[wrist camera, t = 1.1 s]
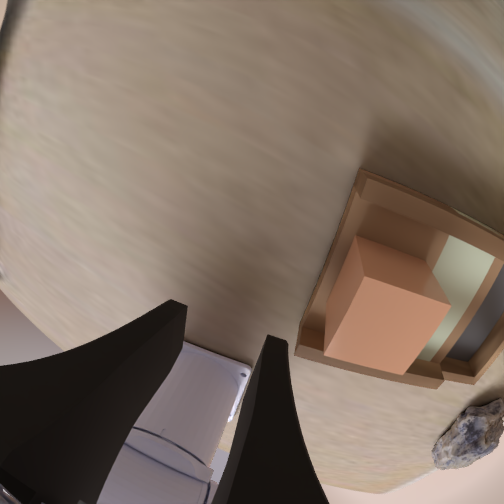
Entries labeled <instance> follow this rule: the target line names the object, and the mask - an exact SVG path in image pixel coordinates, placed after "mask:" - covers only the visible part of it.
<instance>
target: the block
mask: <svg viewBox="0 0 504 504" xmlns="http://www.w3.org/2000/svg"><path fill="white" fill-rule="evenodd" d="M450 308H451V304H450V302H449V300H448V298H447V297H446V295H445V293H444V291H443V289H442V288H441V286H440V284H439V283H438V281H437V279H436V277H435V276H434V274H433V272H432V271H431V269H430V268H429V266H428V264H427V263H426V261H424V260H422V259H419V258H417V257H414V256H411V255H409V254H406V253H403V252H401V251H398V250H395V249H393V248H390V247H387V246H385V245H382V244H379V243H376V242H374V241H371V240H368V239H365V238H362V237H360V236H357V235H355V237H354V239H353V242H352V244H351V247H350V249H349V252H348V254H347V257H346V259H345V261H344V264H343V266H342V269H341V271H340V273H339V276H338V278H337V280H336V282H335V285H334V287H333V289H332V291H331V294H330V296H329V298H328V300H327V302H326V322H325V339H324V353H323V355H324V356H328V357H332V358H335V359H339V360H342V361H346V362H350V363H354V364H358V365H362V366H366V367H370V368H374V369H378V370H382V371H386V372H390V373H395V374H399V375H403V374H404V373H405V372H406V370H407V369H408V368H409V367H410V365H411V364H412V363H413V361H414V360H415V359H416V358H417V356H418V355H419V354H420V352H421V351H422V349H423V348H424V347H425V345H426V344H427V342H428V341H429V340H430V338H431V337H432V335H433V334H434V332H435V331H436V329H437V328H438V326H439V325H440V323H441V322H442V320H443V319H444V317H445V316H446V314H447V313H448V311H449V309H450Z"/></svg>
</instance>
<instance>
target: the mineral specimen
mask: <svg viewBox="0 0 504 504" xmlns="http://www.w3.org/2000/svg"><path fill="white" fill-rule="evenodd" d="M503 417H504V402H503V401H502V399H501V398H500V399H498V400H496V401H493V402H491V403H489V404H488V405H486V406H482V407H475V406H470V407H468V408H467V410H466V412H465V413H461V414H459V416H458V418H457V420H456V421H455V423H454V424H453V425H452V427H451V429H450V430H449V431H448V432H446V434H445V435H444V436H442V437H441V438H440V439H439V440H438V442H437V443H436V445H434V448H433V450H432V457H433V460H434V463H435V465H436V467H437V468H439V469H441V470H444V469H458V468H462V467H467V466H469V465H470V464H472V463H473V462H474V461H476V460H478V459H480V458H482V457H484V456H485V455H488V454H490V453H491V452H492V451H493V450H494V449H495V448H496V447H497V446H498V443H499V438H500V437H501V435H502V433H503V431H504V426H503V422H504V421H503V420H502V418H503Z"/></svg>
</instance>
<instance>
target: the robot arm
mask: <svg viewBox="0 0 504 504" xmlns="http://www.w3.org/2000/svg"><path fill="white" fill-rule="evenodd" d="M187 307H188V306H187V305H184V304H182V303H179V302H177V301H174V300H172V299H170V300H168V301H166V302H165V303H163V304H161V305H160V306H158V307H156V308H154V309H153V310H151V311H149V312H148V313H146V314H144V315H142V316H141V317H139V318H137V319H135V320H133V321H132V322H130V323H128V324H126V325H124V326H122V327H120V328H119V329H117V330H115V331H113V332H110V333H108V334H106V335H104V336H102V337H100V338H98V339H96V340H93V341H91V342H89V343H86V344H84V345H81V346H79V347H76V348H74V349H71V350H68V351H65V352H62V353H59V354H55V355H52V356H49V357H45V358H41V359H37V360H33V361H29V362H23V363H17V364H11V365H4V366H0V504H329V502H328V500H327V498H326V495H325V493H324V491H323V489H322V487H321V484H320V482H319V480H318V478H317V476H316V473H315V470H314V468H313V465H312V462H311V460H310V457H309V454H308V451H307V448H306V445H305V442H304V439H303V435H302V432H301V428H300V424H299V420H298V416H297V411H296V407H295V402H294V396H293V390H292V385H291V378H290V369H289V358H288V343H287V341H286V340H283V339H280V338H277V337H274V336H271V335H267V337H266V340H265V343H264V345H263V348H262V350H261V353H260V356H259V358H258V361H257V363H256V366H255V368H254V371H253V373H252V376H251V379H250V382H249V385H248V388H247V390H246V393H245V396H244V399H243V403H242V407H241V411H240V415H239V419H238V423H237V427H236V431H235V435H234V439H233V443H232V446H231V450H230V454H229V458H228V461H227V464H226V467H225V470H224V472H223V475H222V478H221V480H220V482H219V485H218V484H217V482H215V481H213V480H210V479H211V476H212V474H213V471H214V470H213V469H211V468H209V467H210V464H211V462H212V459H213V457H214V454H215V452H216V449H217V447H218V444H219V442H220V439H221V437H222V434H223V431H224V429H225V426H226V424H227V421H232V419H233V416H234V414H235V411H236V409H237V406H238V404H239V402H240V399H241V397H242V394H243V392H244V389H245V387H246V384H247V381H248V379H249V376H250V374H251V371H252V368H251V367H250V366H249V365H246V364H244V363H241V362H238V361H235V360H232V359H229V358H226V357H224V356H221V355H218V354H216V353H213V352H210V351H208V350H205V349H202V348H200V347H197V346H195V345H192V344H190V343H187V342H185V341H184V332H185V323H186V315H187ZM244 373H245V374H244ZM3 489H4V490H5V491H6V492H7V493H8V494H9V495H10V496H9V495H8V494H6V493H5V492H3ZM12 497H13V498H12Z"/></svg>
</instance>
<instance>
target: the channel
mask: <svg viewBox="0 0 504 504" xmlns="http://www.w3.org/2000/svg"><path fill="white" fill-rule="evenodd" d="M355 235H357V236H360V237H362V238H365V239H368V240H371V241H374V242H376V243H379V244H382V245H385V246H387V247H390V248H393V249H395V250H398V251H401V252H403V253H406V254H409V255H411V256H414V257H417V258H419V259H422V260H424V261H426V263H427V264H428V266H429V268H430V269H431V271H432V272H433V274H434V276H435V277H436V279H437V281H438V283H439V284H440V286H441V288H442V289H443V291H444V293H445V295H446V297H447V298H448V300H449V302H450V304H451V308H450V309H449V311H448V313H447V314H446V316H445V317H444V319H443V320H442V322H441V323H440V325H439V326H438V328H437V329H436V331H435V332H434V334H433V335H432V337H431V338H430V340H429V341H428V342H427V344H426V345H425V347H424V348H423V349H422V351H421V352H420V354H419V355H418V356H417V358H416V359H415V360H414V361H413V363H412V364H411V365H410V367H409V368H408V369H407V370H406V372H405V373H404V374H403V375H399V374H395V373H390V372H386V371H382V370H378V369H374V368H370V367H366V366H362V365H358V364H354V363H350V362H346V361H342V360H339V359H335V358H332V357H328V356H324V355H323V353H324V339H325V322H326V302H327V300H328V298H329V296H330V294H331V291H332V289H333V287H334V285H335V282H336V280H337V278H338V276H339V273H340V271H341V269H342V266H343V264H344V261H345V259H346V257H347V254H348V252H349V249H350V247H351V244H352V242H353V239H354V237H355ZM503 349H504V235H502V234H501V233H499V232H497V231H496V230H494V229H492V228H490V227H488V226H487V225H485V224H483V223H481V222H479V221H477V220H476V219H474V218H472V217H470V216H468V215H466V214H464V213H462V212H460V211H458V210H456V209H454V208H452V207H450V206H448V205H446V204H444V203H442V202H439V201H437V200H435V199H433V198H431V197H429V196H426V195H424V194H422V193H420V192H417V191H415V190H413V189H411V188H408V187H406V186H404V185H401V184H399V183H396V182H394V181H391V180H389V179H386V178H384V177H381V176H379V175H376V174H373V173H371V172H368V171H366V170H363V169H360V168H359V170H358V174H357V177H356V180H355V183H354V186H353V189H352V192H351V194H350V197H349V200H348V203H347V206H346V209H345V212H344V214H343V217H342V220H341V223H340V225H339V228H338V231H337V234H336V236H335V239H334V242H333V244H332V247H331V249H330V252H329V255H328V257H327V260H326V262H325V265H324V267H323V270H322V272H321V275H320V277H319V280H318V282H317V285H316V287H315V289H314V292H313V294H312V297H311V299H310V301H309V304H308V306H307V308H306V311H305V313H304V315H303V317H302V320H301V322H300V325H299V331H298V336H297V342H296V347H295V353H294V356H298V357H301V358H304V359H308V360H311V361H315V362H318V363H322V364H326V365H329V366H333V367H337V368H340V369H344V370H348V371H352V372H356V373H360V374H364V375H368V376H373V377H377V378H381V379H386V380H390V381H395V382H400V383H405V384H410V385H415V386H420V387H425V388H431V389H437V388H438V387H439V386H440V385H441V384H442V383H443V382H444V380H448V381H454V382H459V383H465V384H471V385H474V384H475V383H476V382H477V381H478V380H479V379H480V377H481V376H482V375H483V374H484V373H485V372H486V370H487V369H488V368H489V367H490V365H491V364H492V363H493V362H494V361H495V359H496V358H497V357H498V355H499V354H500V353H501V351H502V350H503Z"/></svg>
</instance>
